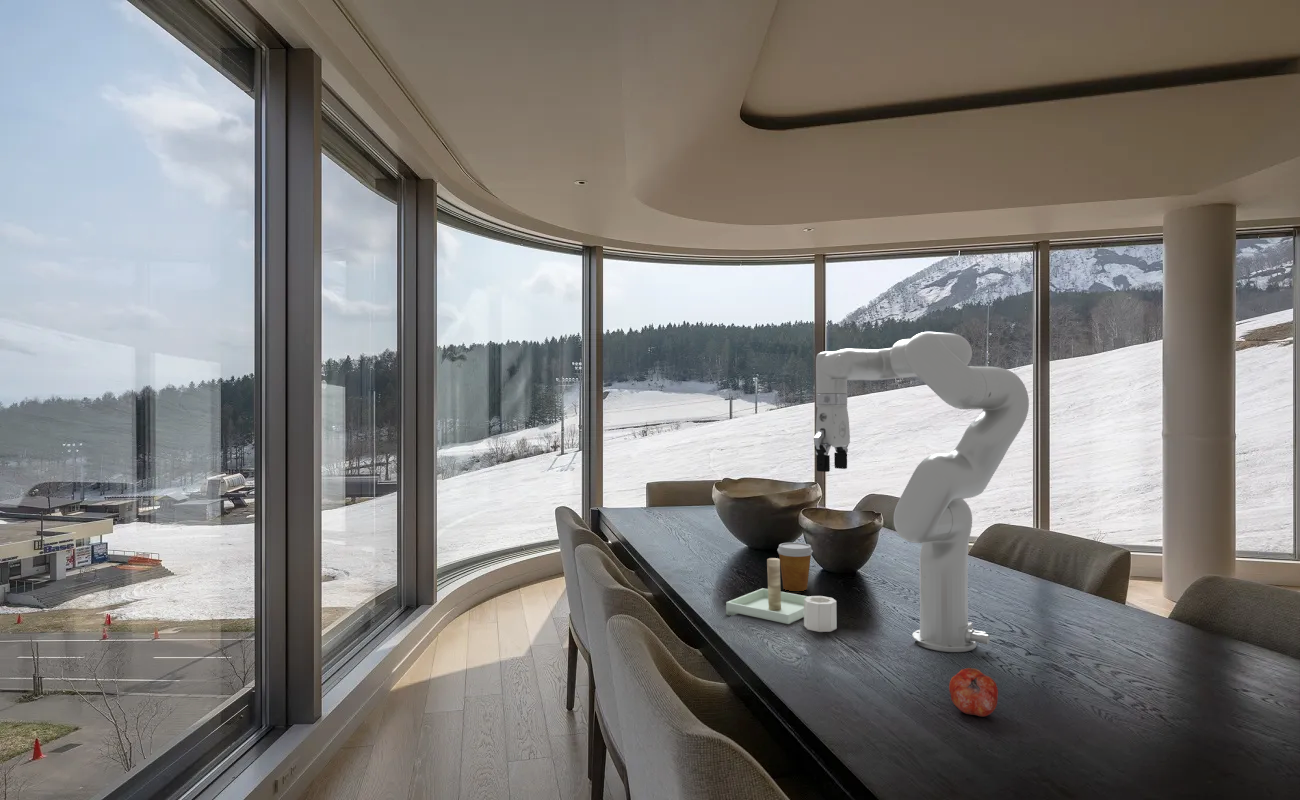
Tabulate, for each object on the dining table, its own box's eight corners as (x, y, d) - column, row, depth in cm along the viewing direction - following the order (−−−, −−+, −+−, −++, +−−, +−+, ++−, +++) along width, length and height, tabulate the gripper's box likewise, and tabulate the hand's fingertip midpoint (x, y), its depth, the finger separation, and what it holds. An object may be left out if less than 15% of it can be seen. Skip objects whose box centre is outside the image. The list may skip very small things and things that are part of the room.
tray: (823, 611, 178) (823, 599, 178) (788, 628, 165) (788, 615, 165) (762, 599, 189) (762, 588, 189) (726, 614, 176) (726, 602, 176)
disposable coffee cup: (810, 585, 203) (810, 542, 203) (815, 594, 194) (814, 549, 194) (776, 584, 204) (775, 542, 204) (778, 593, 195) (778, 548, 195)
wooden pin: (783, 608, 177) (781, 558, 177) (777, 611, 175) (775, 561, 175) (772, 606, 179) (771, 557, 179) (766, 609, 176) (764, 559, 177)
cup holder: (840, 630, 163) (840, 599, 163) (827, 638, 158) (827, 605, 158) (813, 624, 167) (813, 594, 167) (799, 632, 162) (799, 600, 162)
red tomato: (948, 715, 124) (939, 695, 117) (959, 674, 127) (950, 653, 120) (995, 732, 119) (988, 712, 113) (1005, 689, 123) (999, 667, 116)
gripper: (830, 401, 172) (830, 473, 172) (860, 401, 185) (861, 468, 185) (801, 401, 177) (801, 471, 177) (833, 401, 190) (833, 466, 190)
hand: (832, 469), depth 181 cm, fingers open, 9 cm apart
